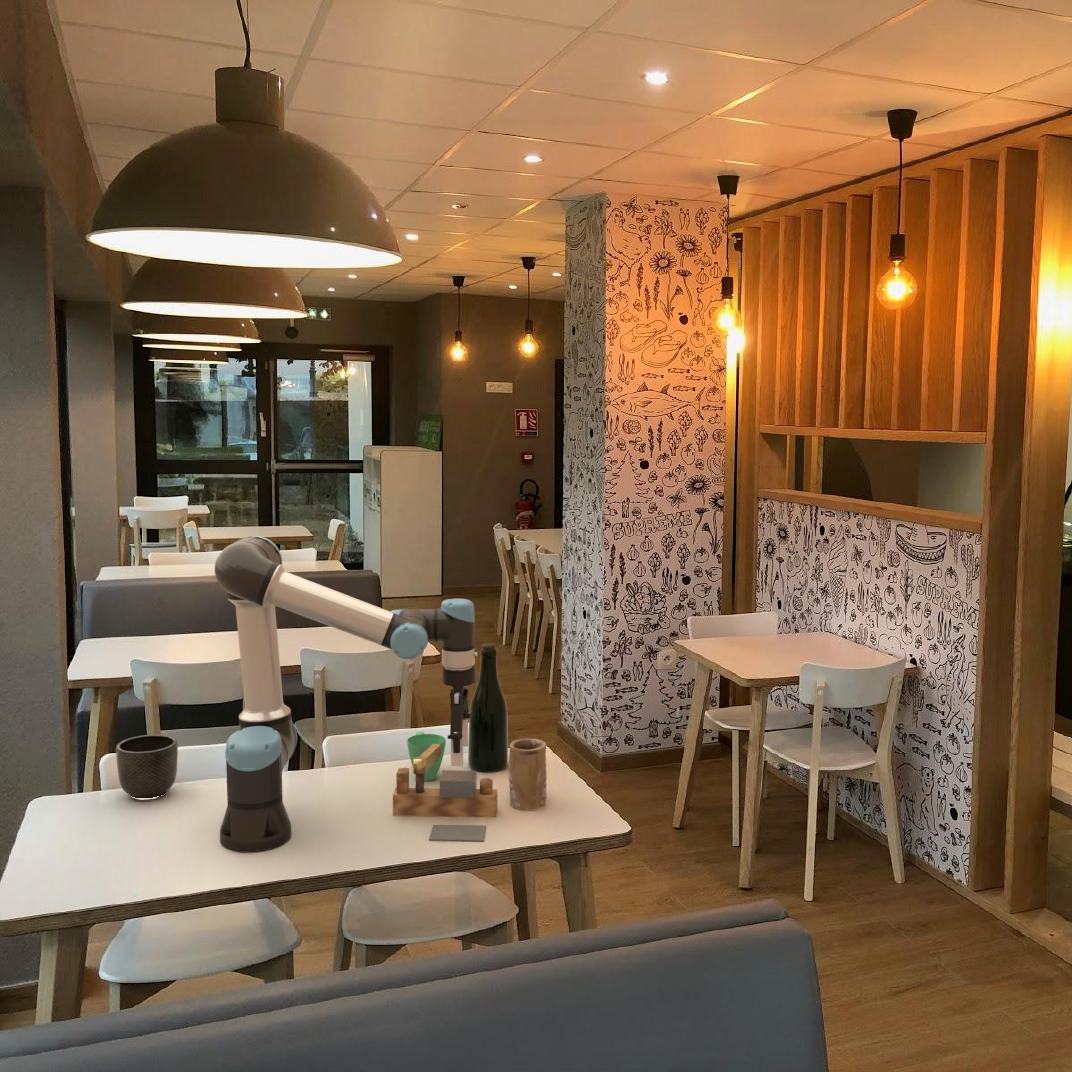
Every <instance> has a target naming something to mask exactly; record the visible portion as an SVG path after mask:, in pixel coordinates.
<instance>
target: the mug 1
mask: <svg viewBox="0 0 1072 1072" xmlns="http://www.w3.org/2000/svg"><path fill="white" fill-rule="evenodd" d="M446 741H447V740H446V737H444V736H443V735H441V734H434V733H425V732H423V731H418V732H416V733H415V735H411V736H410V737H408V738H407V739H406V742H407V743H406V744H407V749H408V756H409V759H410V762H411V765H412V767H413V759H414V758H416V757H419V756H420V755H422V754H423V753H424V752H425V751H426V750H427V749H428V748H429V747H430V746H431V745H432V744H440V745H441V757H440V758H439V759H438V760H437V761H436V762H435V763H434V764H433V765H432V766H431V767H430V768H429V769H428V770H427V771H426V773H425V774H424V782H429V781H430V782H431V781H433V780H436V778H437V776H438V773H439V771H440V769H441V765H442V762H443V759H444V758H443V757H444V755H445V748H446V743H447V742H446Z"/></svg>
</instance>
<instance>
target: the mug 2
mask: <svg viewBox="0 0 1072 1072" xmlns="http://www.w3.org/2000/svg"><path fill="white" fill-rule="evenodd" d="M546 751H547V743H546V742H545V741H544V740H541V739H537V738H519V739H516V740H513V741H511V742H510V743H509V753H508V783H509V784H508V786H509V801H510V803H509V804H510V806H511V807H513V808H514V809H517V810H523V811H536V810H540V809H543V808H545V806H546V801H547V779H548V778H547V777H548V776H547V774H548V773H547V763H546V762H547V760H546V758H547V757H546V753H547V752H546Z"/></svg>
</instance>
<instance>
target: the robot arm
mask: <svg viewBox="0 0 1072 1072" xmlns="http://www.w3.org/2000/svg"><path fill="white" fill-rule="evenodd" d="M214 575H215V576H214V577H215V579H216V581H217V583H218V585H219V586H220V588H222V589H223V590H224V591H226V593H227V601H229V602H231V603H232V604H233V605H234V606H235V613H236V623H237V624H236V625H237V636H238V646H239V647H238V648H239V655H240V656H239V657H240V658H239V659H240V669H241V680H242V690H243V691H242V693H243V700H244V701H243V703H244V708H243V710H242V711H241V712H240V713H239V715H238V723H239V730H237V731H235V732H233V733H232V734H231V735H230V736H229V737H228V738H227V741H226V746H225V756H224V757H225V761H226V762H225V764H226V765H225V766H226V768H225V769H226V796H227V797H226V798H227V799H226V800H227V802H226V803H227V806H226V811H225V813H224V817H223V820H222V822H221V826H220V830H219V842H220V845H221V846H223V848H226V849H227V850H230V851H234V852H247V853H248V852H249V853H250V852H252V853H253V852H262V851H266V850H271V849H274V848H277V847H279V846H281V845H283V844H285V843H286V842H288V841H289V840H290V839H291V837H292V824H291V820H290V817H289V815H288V812H287V808H286V807H285V805H284V801H283V799H284V798H283V770H284V769H285V766H286V765H287V764H288V762H289V760H290V759H291V757H292V756H293V755H294V753H295V750H296V747H297V743H298V742H297V741H298V733H297V729H296V726H295V724H294V723H293V721H292V719H293V718H292V711H291V708H290V707H289V706H287V705H286V704H285V703H284V697H283V696H284V695H283V682H282V673H281V672H282V671H281V661H280V660H281V659H280V651H279V650H280V649H279V639H278V638H279V637H278V626H277V615H276V608H277V607H278V608H281V609H283V610H286V611H289V612H292V613H294V614H297V615H299V616H302V617H303V618H306V619H308V620H309V619H310V620H312V621H315V622H316V623H317V622H318V623H321V624H323V625H326V626H329V627H331V628H334V629H337V630H339V631H342V632H344V633H346V634H350V635H353V636H355V637H357V638H361V639H363V640H365V641H368V642H370V643H374V644H376V645H379V646H382V647H384V648H386V649H389V650H392V652H393V653H394V654H395V655H396V657H399V658H400V659H402V660H413V659H414V660H415V659H416V658H418V657H419V656H421V654H422V653H424V651H425V649H426V648H427V646H428V644H429V643H439V642H441V644H442V646H441V664H442V667H443V668H442V670H441V671H442V672H441V673H442V683H443V685H445V686H448V687H449V686H450V687H452V689H450V692H449V700H450V706H449V708H450V731H449V734H448V735H447V740H450V766H451V767H464V747H468V744H469V718H471V714H470V709H469V703H468V702H469V701H468V700H469V689H468V687H469V686H471V685H473V684H475V682H476V668H475V666H474V665H476V664H475V663H476V658H475V657H477V656H478V652H476V651H475V650H476V649H475V647H476V646H475V642H476V637H475V635H476V634H475V633H476V630H475V629H476V627H475V626H476V621H475V620H476V619H475V617H476V616H475V605H474V602H472V601H471V600H470V599H466V598H447V599H445V600H443V601H442V602H441V606H440V608H419V609H418V608H411V609H409V608H402V609H392V610H391V611H390V610H387V609H385V608H382V607H379V606H377V605H375V604H371V603H370V602H366V601H364V600H361V599H358V598H355V597H353V596H351V595H348V594H345V593H343V592H340V591H337V590H335V589H332V588H330V587H327V586H324V585H322V584H319V583H317V582H314V581H311V580H308V579H306V578H303V577H302V576H298V575H296V574H293V573H290V572H288V571H285V569H284V567H283V558H282V552H281V551H280V549H279V548H278V546H277V545H276V544H275V543H274V542H273V541H271V540H270V539H269V538H267V537H265V536H259V535H250V536H244V537H241V538H239V539H238V540H236V541H235V542H234V543H231V544H229V545H228V546H226V547H224V548H223V550H222V551H221V552H219V554H218V555H217V558H216V560H215V563H214Z"/></svg>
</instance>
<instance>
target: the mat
mask: <svg viewBox="0 0 1072 1072" xmlns="http://www.w3.org/2000/svg"><path fill="white" fill-rule="evenodd" d="M486 829H487V825H484V824H483V825H482V824H477V825H476V824H473V825H472V824H432V828H431V831H430V834H429V838H428V841H429V842H467V843H468V842H474V843H475V842H476V843H484V842H485V835H486Z"/></svg>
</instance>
